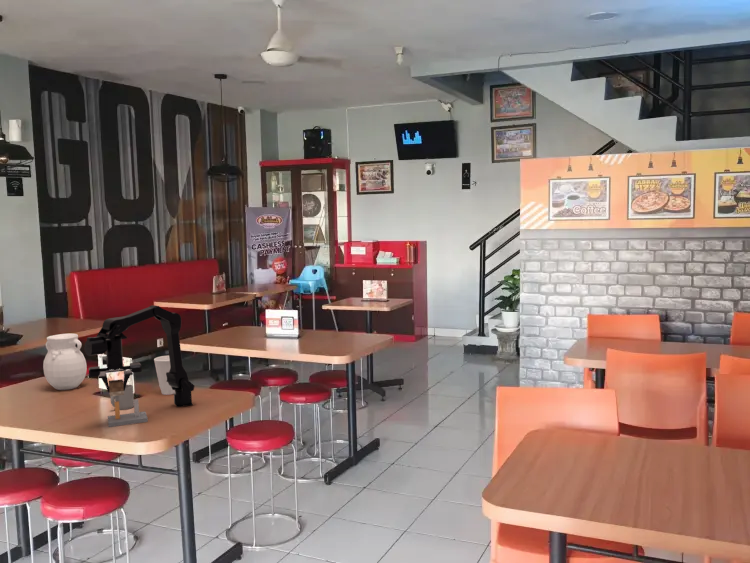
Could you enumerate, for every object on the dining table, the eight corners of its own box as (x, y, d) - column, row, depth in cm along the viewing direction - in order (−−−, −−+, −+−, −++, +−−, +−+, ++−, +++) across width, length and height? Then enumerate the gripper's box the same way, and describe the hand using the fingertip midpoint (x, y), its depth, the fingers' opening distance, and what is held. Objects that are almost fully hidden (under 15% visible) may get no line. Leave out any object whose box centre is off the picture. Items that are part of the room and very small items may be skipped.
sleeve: (123, 391, 255) (122, 379, 255) (123, 394, 251) (123, 381, 250) (109, 393, 253) (108, 380, 253) (109, 396, 249) (109, 383, 248)
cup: (137, 406, 275) (136, 385, 274) (117, 412, 266) (115, 391, 265) (126, 404, 278) (125, 383, 278) (106, 410, 270) (104, 389, 269)
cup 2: (158, 390, 301) (157, 355, 300) (185, 388, 303) (183, 354, 301) (153, 396, 290) (151, 361, 288) (180, 395, 291) (178, 360, 289)
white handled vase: (35, 392, 302) (31, 339, 300) (61, 382, 320) (57, 332, 318) (72, 393, 299) (68, 339, 297) (95, 383, 317) (92, 332, 315)
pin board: (145, 415, 262) (144, 395, 261) (147, 421, 253) (146, 401, 252) (107, 420, 256) (106, 400, 255) (108, 427, 247) (107, 406, 246)
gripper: (138, 345, 262) (140, 384, 263) (87, 350, 254) (89, 389, 255) (140, 350, 252) (142, 390, 253) (87, 355, 244) (90, 396, 245)
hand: (116, 391), depth 252 cm, fingers closed on sleeve, 5 cm apart
